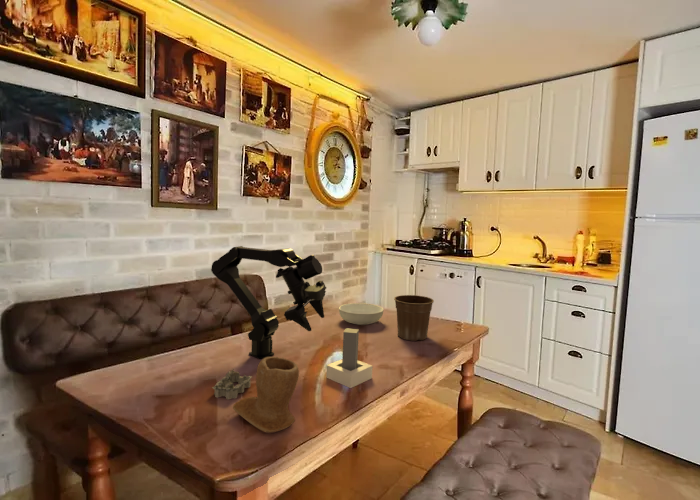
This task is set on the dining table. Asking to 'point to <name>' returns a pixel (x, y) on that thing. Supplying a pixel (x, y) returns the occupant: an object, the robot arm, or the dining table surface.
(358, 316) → the serving bowl
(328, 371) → the collar
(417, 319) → the plant pot
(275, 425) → the tan boot
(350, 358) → the post
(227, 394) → the egg carton
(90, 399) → the dining table surface
